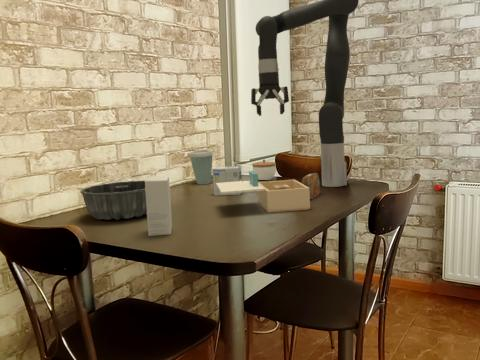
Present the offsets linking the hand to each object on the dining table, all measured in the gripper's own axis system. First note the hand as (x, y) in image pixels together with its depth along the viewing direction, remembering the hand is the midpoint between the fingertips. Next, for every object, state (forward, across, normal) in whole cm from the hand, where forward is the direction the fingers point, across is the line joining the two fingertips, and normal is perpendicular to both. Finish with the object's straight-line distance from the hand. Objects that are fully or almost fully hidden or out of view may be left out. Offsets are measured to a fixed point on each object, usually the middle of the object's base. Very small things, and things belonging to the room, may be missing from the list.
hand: (270, 114), depth 187 cm
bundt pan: (+30, +57, +20) cm, 67 cm away
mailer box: (+30, +4, +28) cm, 41 cm away
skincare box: (+30, +44, +48) cm, 72 cm away
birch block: (+29, +4, +28) cm, 40 cm away
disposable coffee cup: (+30, +25, -36) cm, 53 cm away
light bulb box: (+30, +18, -3) cm, 35 cm away
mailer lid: (+22, +18, +27) cm, 40 cm away
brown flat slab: (+30, -9, +18) cm, 36 cm away
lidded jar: (+30, -3, -31) cm, 43 cm away
